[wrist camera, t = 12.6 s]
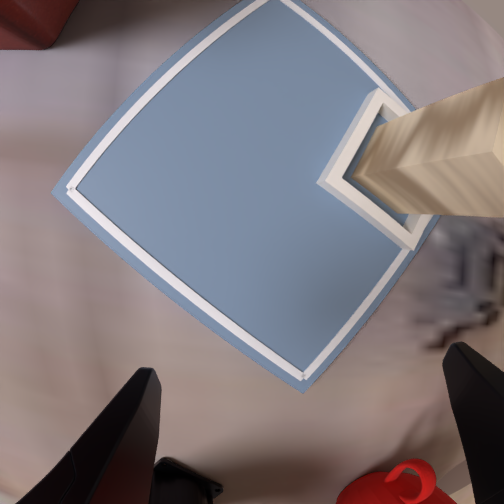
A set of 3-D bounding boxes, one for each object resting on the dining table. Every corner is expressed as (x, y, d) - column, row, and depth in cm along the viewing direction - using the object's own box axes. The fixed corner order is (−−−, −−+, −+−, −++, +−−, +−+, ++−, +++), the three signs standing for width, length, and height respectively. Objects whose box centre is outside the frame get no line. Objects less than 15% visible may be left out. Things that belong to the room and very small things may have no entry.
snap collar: (401, 248, 22) (413, 250, 20) (315, 183, 20) (325, 180, 19) (441, 161, 22) (454, 159, 20) (367, 93, 20) (378, 87, 18)
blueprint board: (456, 175, 23) (465, 174, 22) (299, 387, 23) (303, 394, 22) (269, -12, 19) (272, -20, 18) (56, 193, 18) (49, 192, 17)
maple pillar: (397, 213, 21) (538, 220, 10) (350, 177, 20) (492, 151, 9) (419, 163, 21) (551, 144, 10) (376, 126, 20) (507, 75, 9)
